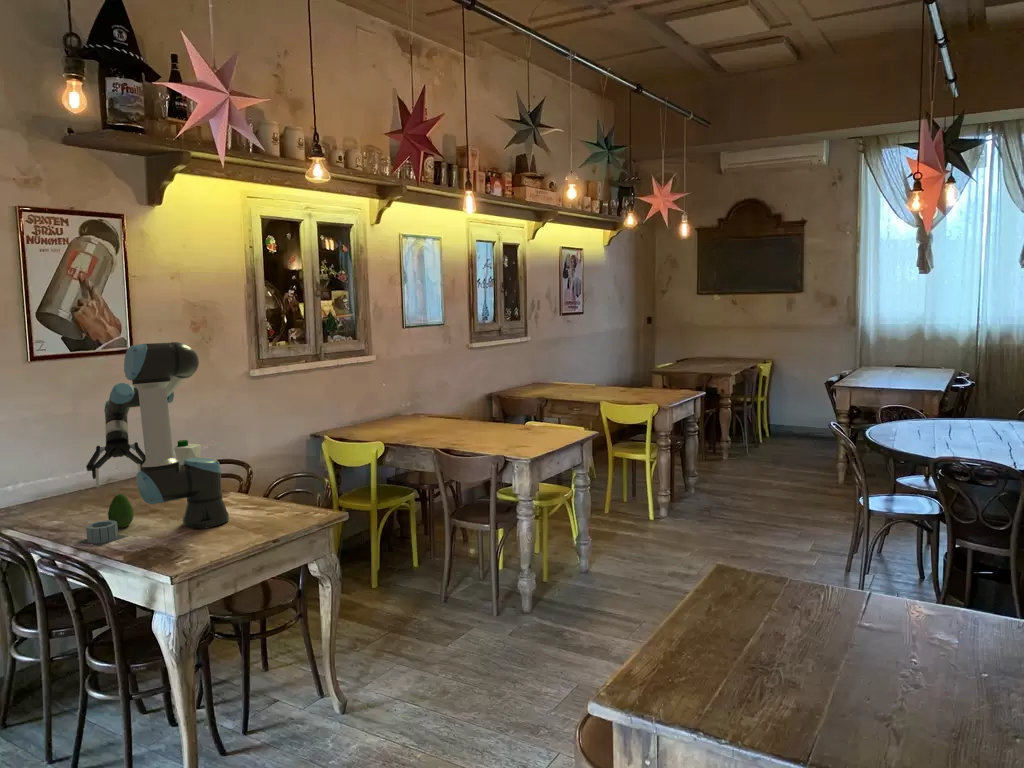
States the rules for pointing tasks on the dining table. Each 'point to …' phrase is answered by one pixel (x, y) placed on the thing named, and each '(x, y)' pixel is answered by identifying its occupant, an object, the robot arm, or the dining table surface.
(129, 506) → the avocado
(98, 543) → the placemat
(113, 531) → the bowl
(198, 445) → the milk carton
